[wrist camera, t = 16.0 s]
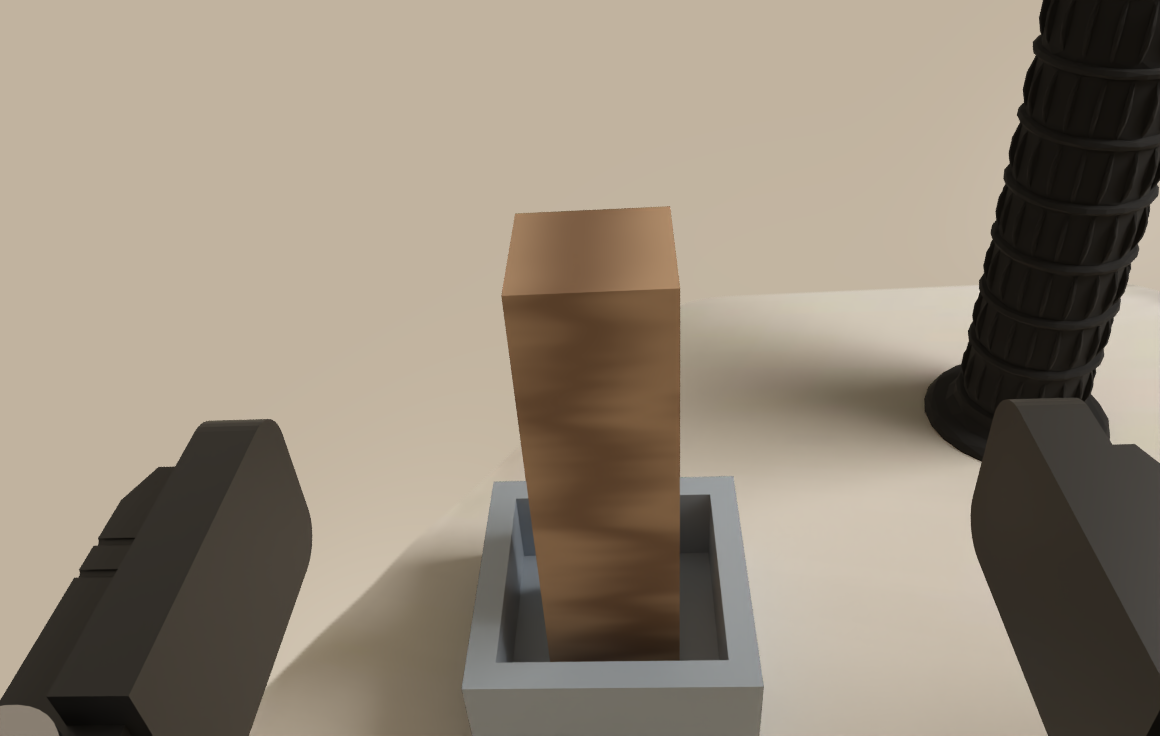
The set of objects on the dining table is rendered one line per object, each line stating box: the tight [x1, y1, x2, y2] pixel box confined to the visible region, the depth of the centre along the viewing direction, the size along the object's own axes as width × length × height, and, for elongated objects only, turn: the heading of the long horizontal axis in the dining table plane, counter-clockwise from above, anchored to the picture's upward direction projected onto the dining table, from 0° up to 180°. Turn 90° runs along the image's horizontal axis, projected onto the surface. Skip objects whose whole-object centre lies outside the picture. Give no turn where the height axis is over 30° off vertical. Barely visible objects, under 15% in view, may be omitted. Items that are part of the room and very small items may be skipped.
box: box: [462, 476, 764, 736], centre depth 42 cm, size 12×12×5 cm
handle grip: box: [925, 0, 1160, 461], centre depth 47 cm, size 10×26×10 cm
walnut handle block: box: [502, 206, 680, 662], centre depth 37 cm, size 6×6×20 cm
